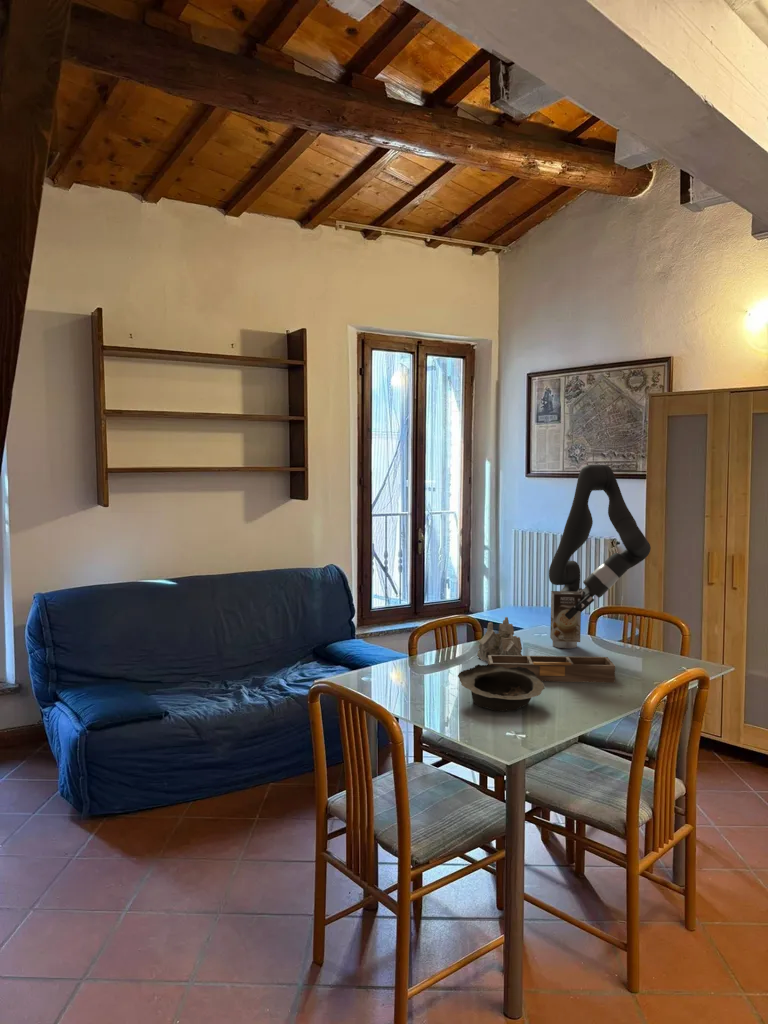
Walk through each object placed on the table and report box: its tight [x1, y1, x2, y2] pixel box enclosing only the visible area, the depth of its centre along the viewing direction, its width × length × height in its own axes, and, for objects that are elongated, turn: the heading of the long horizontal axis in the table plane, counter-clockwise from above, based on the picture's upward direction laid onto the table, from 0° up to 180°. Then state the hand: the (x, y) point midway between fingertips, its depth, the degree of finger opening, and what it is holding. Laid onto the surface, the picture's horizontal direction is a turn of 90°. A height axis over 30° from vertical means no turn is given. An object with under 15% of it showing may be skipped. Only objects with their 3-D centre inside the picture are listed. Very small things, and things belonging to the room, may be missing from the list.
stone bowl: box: [457, 663, 546, 712], centre depth 214 cm, size 25×25×9 cm
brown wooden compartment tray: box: [487, 655, 616, 684], centre depth 241 cm, size 11×40×6 cm, turn 86°
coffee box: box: [549, 590, 582, 643], centre depth 243 cm, size 9×6×16 cm
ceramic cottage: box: [476, 616, 523, 662], centre depth 263 cm, size 16×16×15 cm
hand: (565, 615), depth 243 cm, fingers closed on coffee box, 6 cm apart
